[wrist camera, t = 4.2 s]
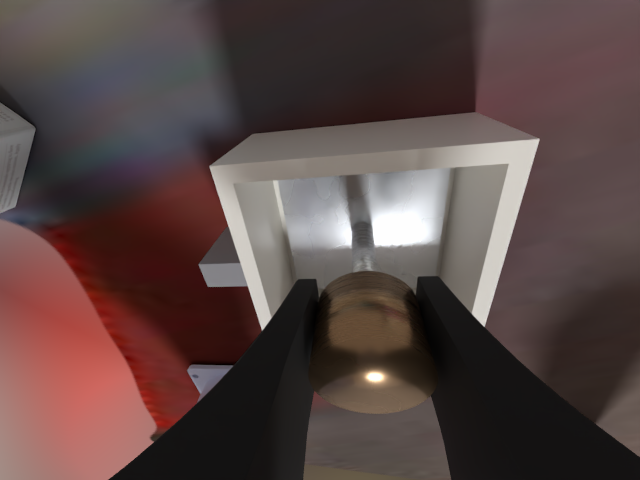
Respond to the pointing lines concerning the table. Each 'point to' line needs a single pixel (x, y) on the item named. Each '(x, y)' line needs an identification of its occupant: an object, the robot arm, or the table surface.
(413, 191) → the plunger
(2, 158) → the skincare box
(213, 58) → the table surface
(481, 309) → the white framed panel box
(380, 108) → the table surface
